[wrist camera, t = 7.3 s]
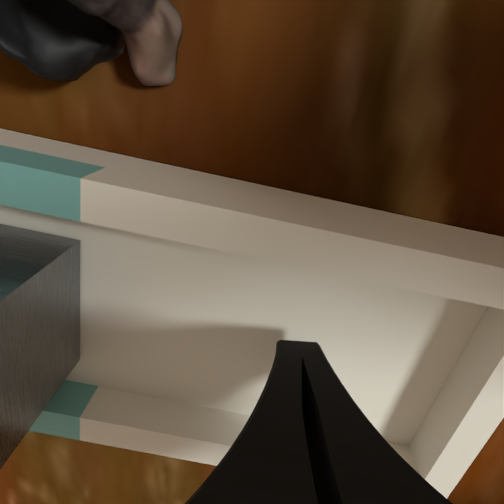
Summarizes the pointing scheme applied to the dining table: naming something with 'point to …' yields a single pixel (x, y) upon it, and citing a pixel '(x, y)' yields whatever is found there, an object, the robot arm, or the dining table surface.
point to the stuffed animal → (91, 36)
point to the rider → (35, 325)
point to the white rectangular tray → (258, 306)
